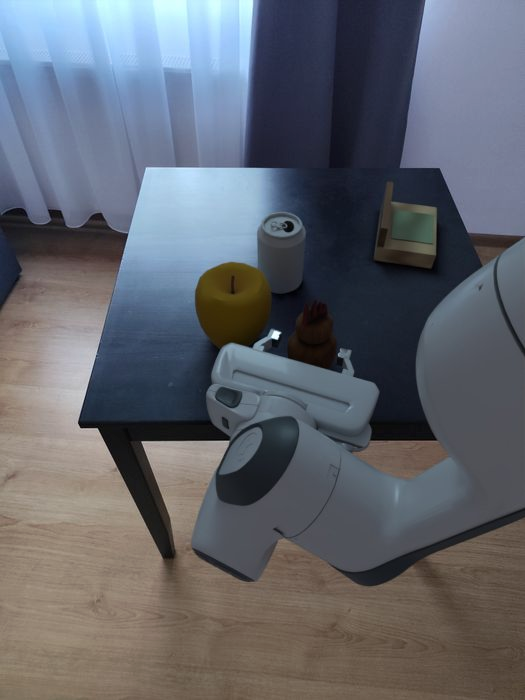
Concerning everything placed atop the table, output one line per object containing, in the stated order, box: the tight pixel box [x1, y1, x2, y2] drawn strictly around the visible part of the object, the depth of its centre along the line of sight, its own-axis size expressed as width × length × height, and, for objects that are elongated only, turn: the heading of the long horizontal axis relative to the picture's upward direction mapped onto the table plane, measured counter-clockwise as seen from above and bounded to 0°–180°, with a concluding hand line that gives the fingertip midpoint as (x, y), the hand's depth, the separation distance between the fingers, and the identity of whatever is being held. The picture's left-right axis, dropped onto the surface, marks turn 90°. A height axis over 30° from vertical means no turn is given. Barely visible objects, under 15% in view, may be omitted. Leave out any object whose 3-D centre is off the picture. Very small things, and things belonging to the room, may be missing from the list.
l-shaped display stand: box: [373, 181, 438, 269], centre depth 85 cm, size 10×14×7 cm
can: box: [256, 211, 307, 295], centre depth 76 cm, size 8×8×12 cm
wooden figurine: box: [286, 298, 338, 370], centre depth 64 cm, size 7×6×15 cm
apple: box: [194, 261, 272, 350], centre depth 68 cm, size 11×11×13 cm
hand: (310, 342), depth 63 cm, fingers open, 8 cm apart
